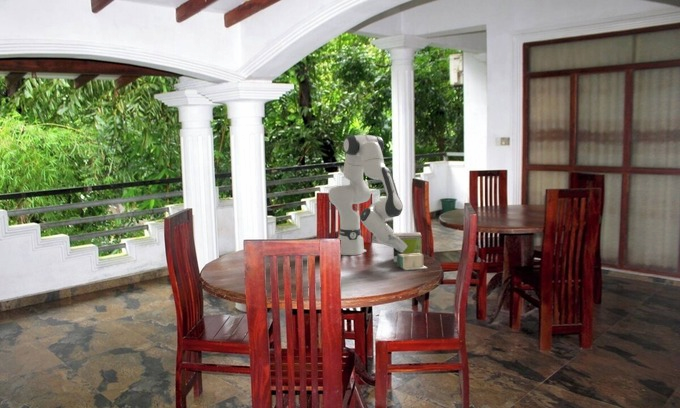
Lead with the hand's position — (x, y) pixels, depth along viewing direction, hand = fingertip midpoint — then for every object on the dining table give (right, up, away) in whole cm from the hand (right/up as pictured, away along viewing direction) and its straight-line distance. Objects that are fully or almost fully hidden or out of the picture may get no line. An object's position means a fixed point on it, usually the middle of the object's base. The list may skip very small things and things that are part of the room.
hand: (401, 251), depth 302 cm
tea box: (+5, -7, +16) cm, 18 cm away
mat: (+6, -8, +2) cm, 10 cm away
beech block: (-1, -5, -1) cm, 5 cm away
